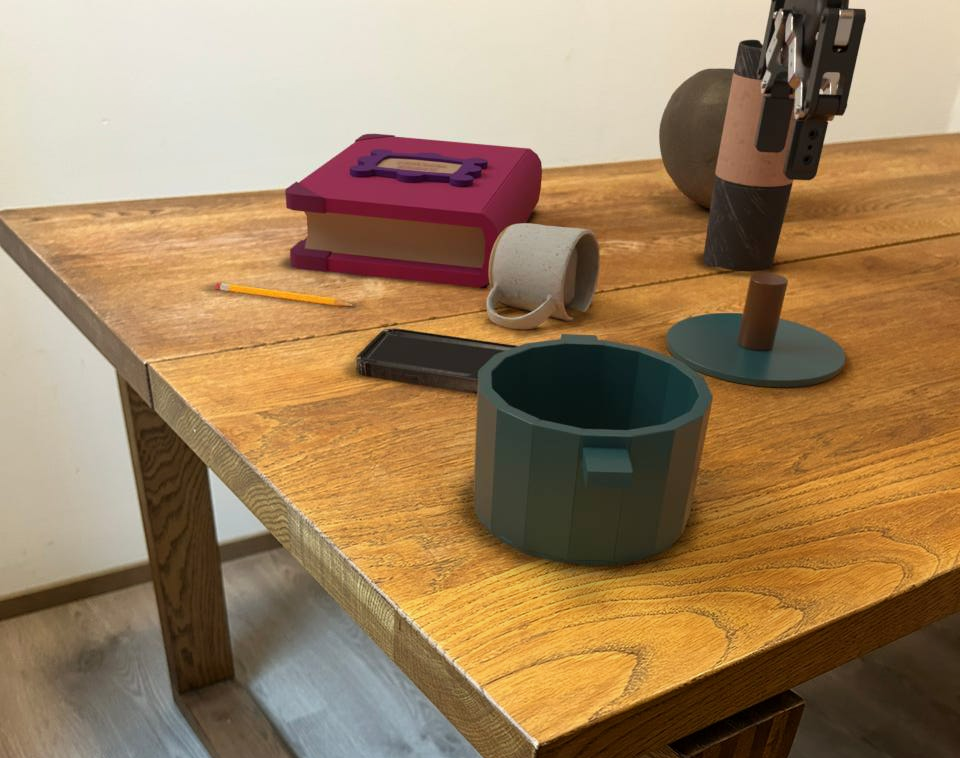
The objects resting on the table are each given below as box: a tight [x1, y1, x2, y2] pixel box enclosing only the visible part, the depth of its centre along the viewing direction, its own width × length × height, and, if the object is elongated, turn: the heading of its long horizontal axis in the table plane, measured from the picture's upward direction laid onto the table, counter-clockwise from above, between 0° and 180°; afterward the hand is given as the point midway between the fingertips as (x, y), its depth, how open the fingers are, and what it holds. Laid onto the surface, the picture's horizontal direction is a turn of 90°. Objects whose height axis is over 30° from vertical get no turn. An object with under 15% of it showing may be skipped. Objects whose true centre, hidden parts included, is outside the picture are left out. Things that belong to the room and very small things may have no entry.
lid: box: [665, 272, 846, 388], centre depth 83 cm, size 15×15×7 cm
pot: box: [472, 333, 714, 566], centre depth 61 cm, size 14×19×8 cm
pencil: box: [214, 282, 354, 307], centre depth 91 cm, size 1×13×1 cm, turn 75°
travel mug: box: [702, 39, 795, 272], centre depth 98 cm, size 8×8×20 cm
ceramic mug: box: [485, 222, 601, 330], centre depth 88 cm, size 11×8×8 cm
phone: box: [355, 327, 518, 394], centre depth 80 cm, size 8×1×15 cm
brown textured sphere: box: [658, 67, 734, 210], centre depth 117 cm, size 14×14×15 cm
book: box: [284, 133, 543, 289], centre depth 105 cm, size 21×28×8 cm
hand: (782, 164), depth 74 cm, fingers open, 8 cm apart
